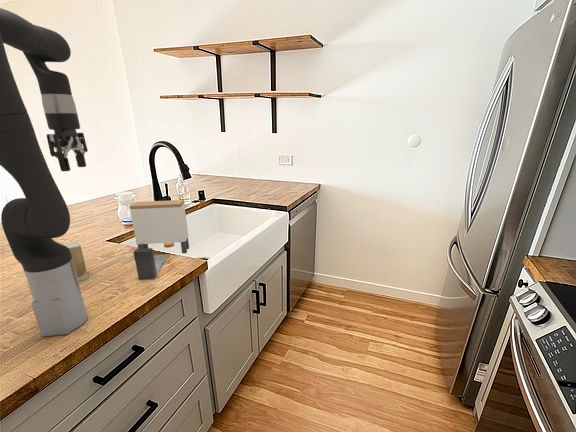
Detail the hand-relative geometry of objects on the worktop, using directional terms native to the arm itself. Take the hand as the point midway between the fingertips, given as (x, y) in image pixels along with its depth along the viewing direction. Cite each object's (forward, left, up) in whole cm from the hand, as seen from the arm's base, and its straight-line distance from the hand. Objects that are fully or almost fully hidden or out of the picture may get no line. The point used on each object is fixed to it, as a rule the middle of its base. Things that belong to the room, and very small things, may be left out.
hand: (74, 168), depth 89 cm
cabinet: (+16, -17, -36) cm, 43 cm away
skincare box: (-1, +6, -36) cm, 37 cm away
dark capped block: (+3, -17, -36) cm, 40 cm away
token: (+23, -17, -36) cm, 46 cm away
